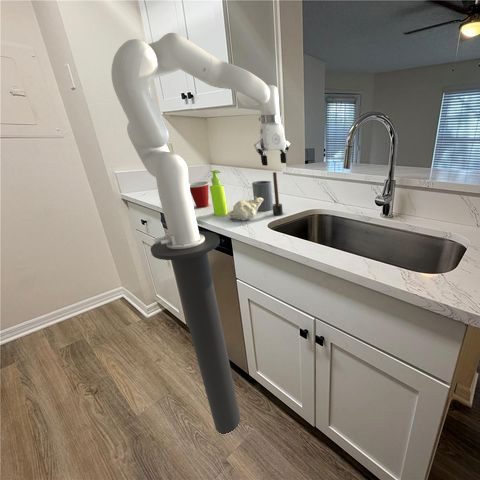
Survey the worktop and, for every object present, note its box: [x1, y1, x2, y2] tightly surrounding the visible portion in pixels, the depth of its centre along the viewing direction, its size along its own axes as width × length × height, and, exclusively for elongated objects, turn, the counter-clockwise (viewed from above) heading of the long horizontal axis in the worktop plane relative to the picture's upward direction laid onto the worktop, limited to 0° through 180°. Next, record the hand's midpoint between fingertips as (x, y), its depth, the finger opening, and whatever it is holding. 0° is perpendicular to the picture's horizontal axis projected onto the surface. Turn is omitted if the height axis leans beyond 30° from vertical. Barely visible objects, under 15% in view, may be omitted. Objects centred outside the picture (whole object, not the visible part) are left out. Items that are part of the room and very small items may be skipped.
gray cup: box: [251, 180, 274, 212], centre depth 127 cm, size 9×9×13 cm
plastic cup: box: [189, 181, 210, 209], centre depth 133 cm, size 11×11×12 cm
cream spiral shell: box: [226, 197, 264, 221], centre depth 114 cm, size 15×7×15 cm
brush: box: [272, 171, 284, 217], centre depth 117 cm, size 4×4×19 cm
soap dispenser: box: [209, 169, 229, 217], centre depth 118 cm, size 6×7×20 cm
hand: (274, 164), depth 112 cm, fingers open, 9 cm apart
